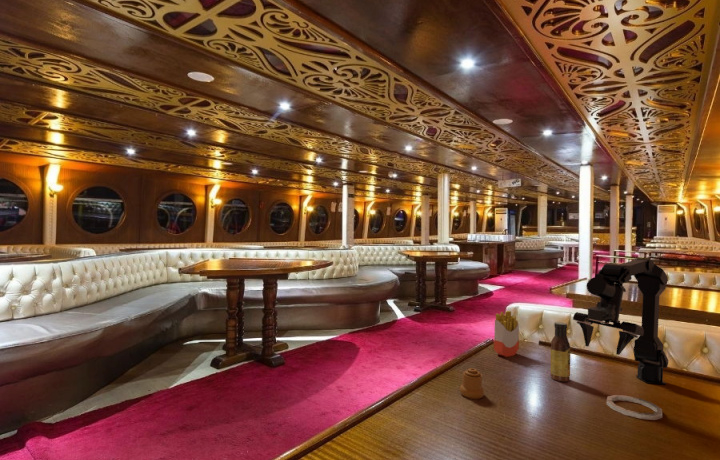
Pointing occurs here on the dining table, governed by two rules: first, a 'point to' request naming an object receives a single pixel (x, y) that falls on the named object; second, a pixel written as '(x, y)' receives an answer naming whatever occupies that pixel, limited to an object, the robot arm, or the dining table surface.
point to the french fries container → (506, 334)
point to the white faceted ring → (631, 413)
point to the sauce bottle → (560, 354)
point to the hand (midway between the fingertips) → (601, 350)
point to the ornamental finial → (472, 384)
